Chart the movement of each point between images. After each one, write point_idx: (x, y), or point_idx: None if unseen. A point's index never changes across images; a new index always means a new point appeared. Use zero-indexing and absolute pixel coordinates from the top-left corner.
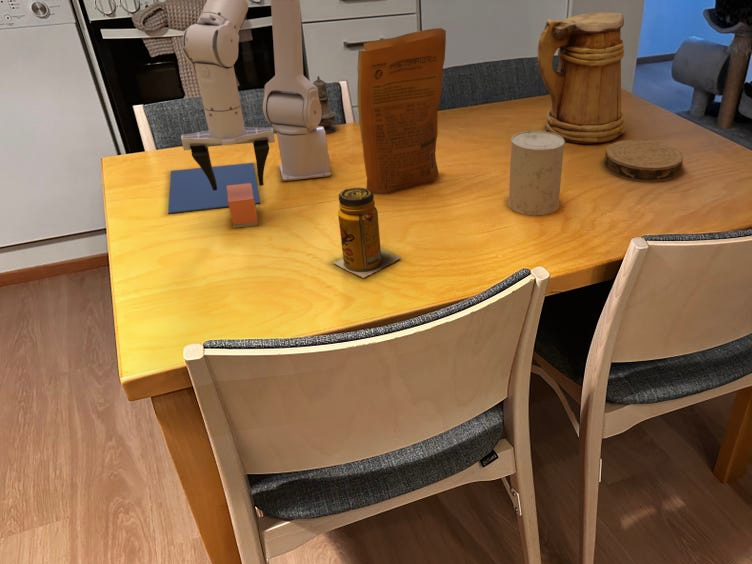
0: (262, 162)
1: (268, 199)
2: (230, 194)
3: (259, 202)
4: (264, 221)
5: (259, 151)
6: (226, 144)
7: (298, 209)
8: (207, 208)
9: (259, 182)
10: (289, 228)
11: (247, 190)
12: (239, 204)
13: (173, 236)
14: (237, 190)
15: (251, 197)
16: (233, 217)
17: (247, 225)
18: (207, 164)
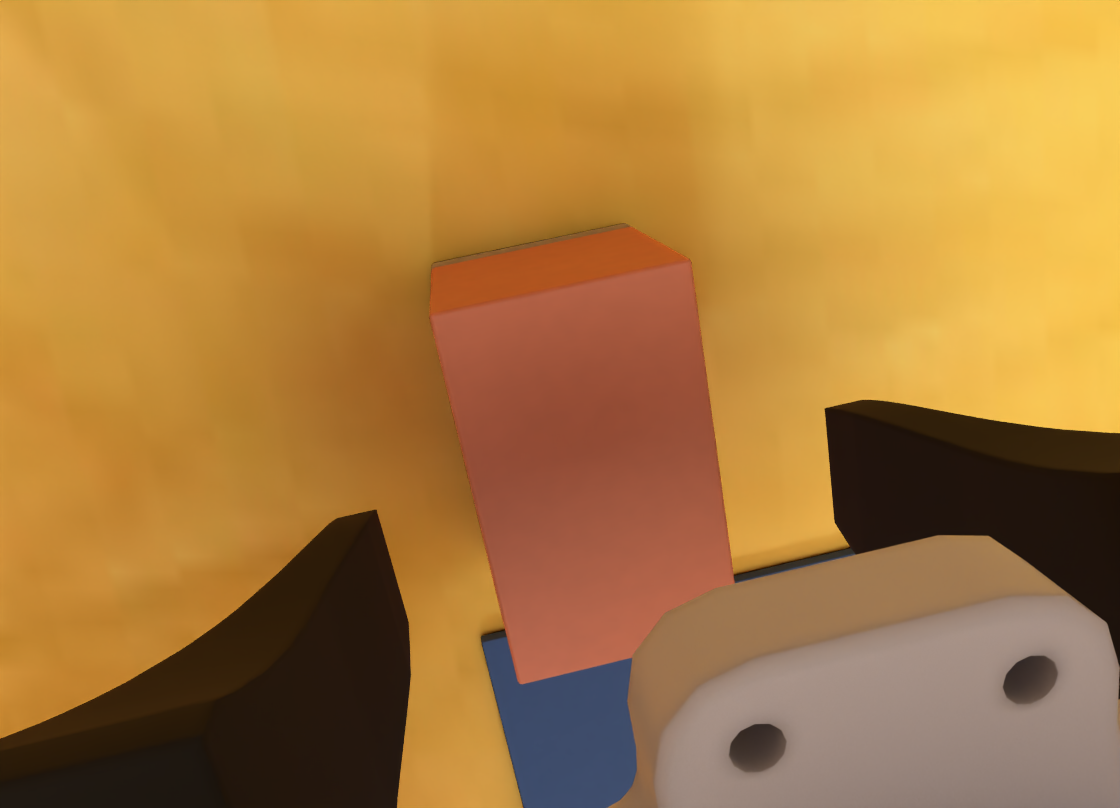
0: (206, 652)
1: (431, 704)
2: (684, 434)
3: (485, 640)
4: (395, 337)
5: (108, 725)
6: (922, 545)
7: (151, 541)
8: (850, 553)
9: (362, 517)
10: (145, 187)
11: (526, 520)
12: (576, 274)
13: (1062, 119)
14: (627, 525)
15: (457, 351)
16: (631, 239)
17: (518, 247)
18: (1088, 459)
